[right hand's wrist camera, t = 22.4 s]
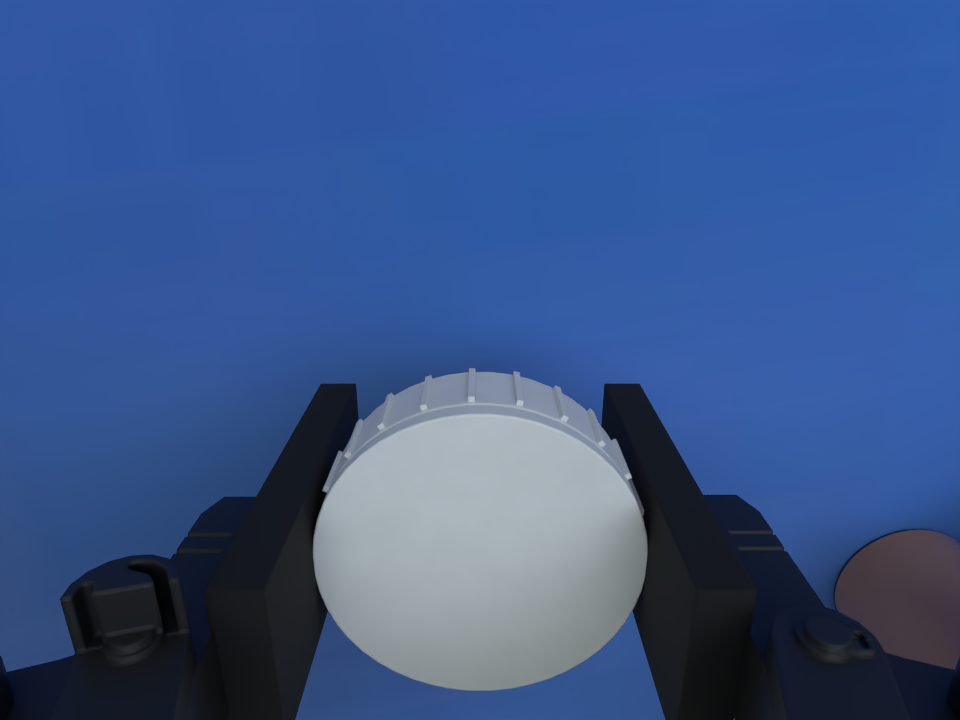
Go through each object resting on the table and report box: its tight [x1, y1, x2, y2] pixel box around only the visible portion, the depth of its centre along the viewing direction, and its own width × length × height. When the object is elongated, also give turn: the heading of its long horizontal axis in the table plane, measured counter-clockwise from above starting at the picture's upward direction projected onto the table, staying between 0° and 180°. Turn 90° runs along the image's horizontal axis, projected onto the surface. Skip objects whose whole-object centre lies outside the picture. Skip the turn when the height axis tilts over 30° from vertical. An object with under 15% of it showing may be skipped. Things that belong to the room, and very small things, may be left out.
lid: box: [313, 368, 648, 691], centre depth 11 cm, size 6×6×2 cm
